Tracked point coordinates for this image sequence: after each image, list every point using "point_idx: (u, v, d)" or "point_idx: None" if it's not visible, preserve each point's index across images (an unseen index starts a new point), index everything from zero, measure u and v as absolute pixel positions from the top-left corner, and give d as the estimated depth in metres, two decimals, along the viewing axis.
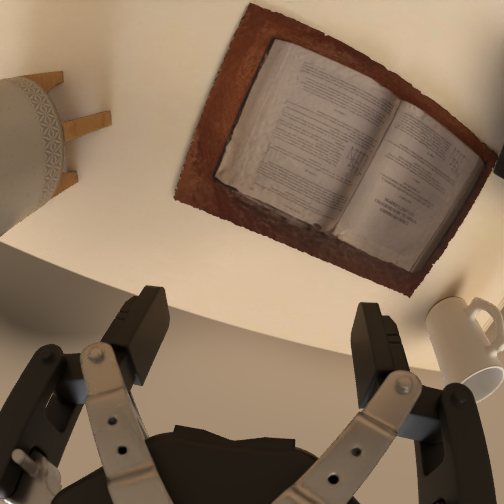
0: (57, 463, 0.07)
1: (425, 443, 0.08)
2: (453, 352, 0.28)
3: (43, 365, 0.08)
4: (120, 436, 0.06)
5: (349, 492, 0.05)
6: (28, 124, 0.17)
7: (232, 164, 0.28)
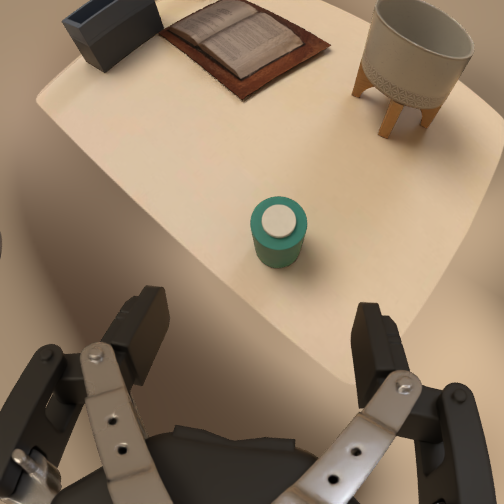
0: (57, 463, 0.07)
1: (425, 443, 0.08)
2: None
3: (43, 365, 0.08)
4: (120, 436, 0.06)
5: (349, 492, 0.05)
6: (366, 43, 0.32)
7: (291, 42, 0.45)
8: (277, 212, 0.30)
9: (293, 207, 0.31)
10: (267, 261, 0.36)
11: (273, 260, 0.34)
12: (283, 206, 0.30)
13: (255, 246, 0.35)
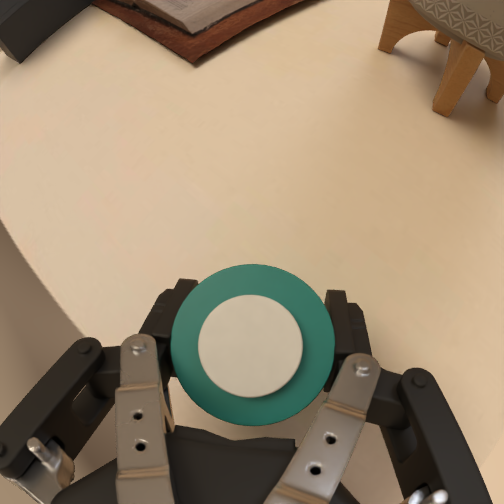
0: (75, 454, 0.08)
1: (393, 431, 0.09)
2: None
3: (78, 358, 0.09)
4: (142, 432, 0.06)
5: (334, 480, 0.05)
6: None
7: None
8: (244, 321, 0.10)
9: (293, 297, 0.10)
10: None
11: None
12: (262, 301, 0.10)
13: None
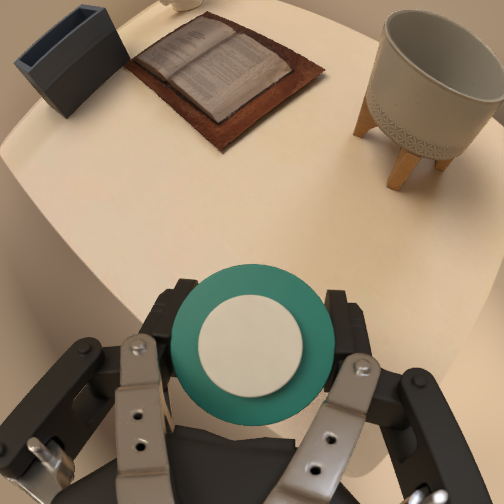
0: (75, 454, 0.08)
1: (393, 431, 0.09)
2: None
3: (78, 358, 0.09)
4: (142, 432, 0.06)
5: (334, 480, 0.05)
6: (373, 75, 0.26)
7: (277, 69, 0.40)
8: (244, 322, 0.10)
9: (293, 297, 0.10)
10: None
11: None
12: (262, 301, 0.10)
13: None
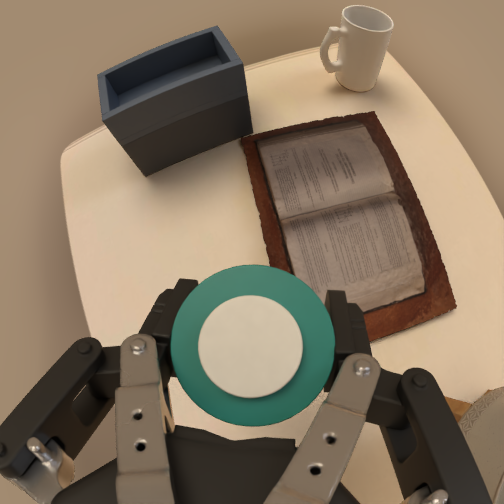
0: (75, 454, 0.08)
1: (393, 431, 0.09)
2: (371, 53, 0.33)
3: (79, 358, 0.09)
4: (142, 432, 0.06)
5: (334, 480, 0.05)
6: (477, 431, 0.18)
7: (409, 286, 0.32)
8: (244, 322, 0.10)
9: (293, 297, 0.10)
10: None
11: None
12: (262, 301, 0.10)
13: None
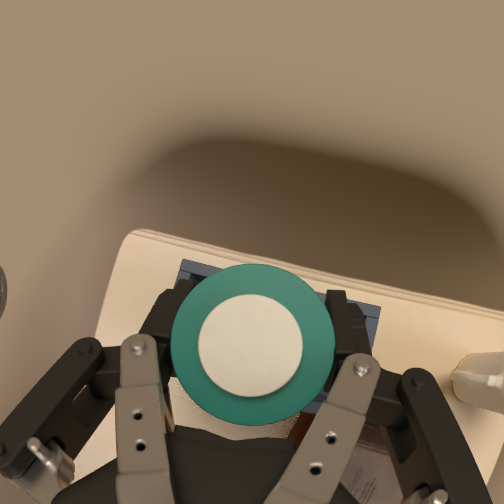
0: (75, 454, 0.08)
1: (393, 431, 0.09)
2: (496, 411, 0.22)
3: (79, 358, 0.09)
4: (142, 432, 0.06)
5: (334, 480, 0.05)
6: None
7: None
8: (244, 321, 0.10)
9: (293, 297, 0.10)
10: None
11: None
12: (262, 300, 0.10)
13: None
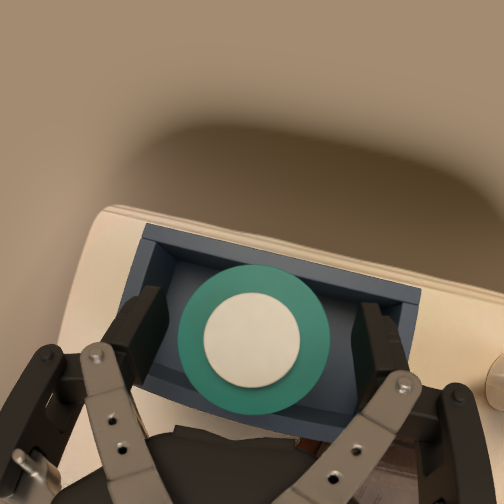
0: (57, 463, 0.07)
1: (425, 443, 0.08)
2: None
3: (43, 365, 0.08)
4: (120, 436, 0.06)
5: (349, 492, 0.05)
6: None
7: None
8: (246, 317, 0.10)
9: (292, 295, 0.11)
10: None
11: None
12: (263, 298, 0.11)
13: None
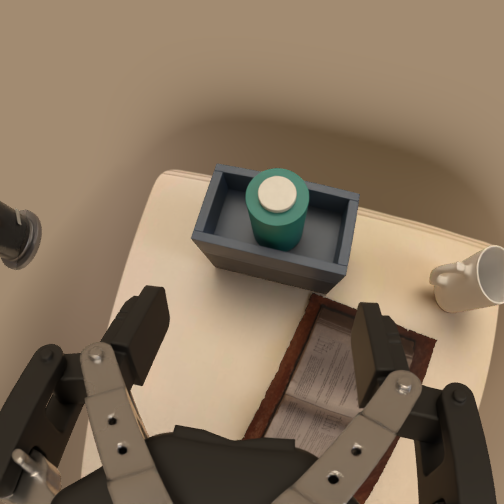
0: (57, 463, 0.07)
1: (425, 443, 0.08)
2: (472, 304, 0.31)
3: (43, 365, 0.08)
4: (120, 436, 0.06)
5: (349, 492, 0.05)
6: None
7: None
8: (275, 184, 0.27)
9: (292, 179, 0.27)
10: (267, 244, 0.32)
11: (273, 242, 0.31)
12: (281, 177, 0.27)
13: (253, 227, 0.31)
